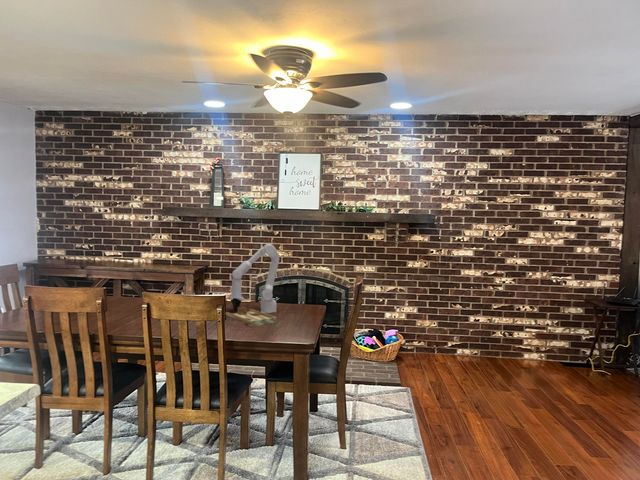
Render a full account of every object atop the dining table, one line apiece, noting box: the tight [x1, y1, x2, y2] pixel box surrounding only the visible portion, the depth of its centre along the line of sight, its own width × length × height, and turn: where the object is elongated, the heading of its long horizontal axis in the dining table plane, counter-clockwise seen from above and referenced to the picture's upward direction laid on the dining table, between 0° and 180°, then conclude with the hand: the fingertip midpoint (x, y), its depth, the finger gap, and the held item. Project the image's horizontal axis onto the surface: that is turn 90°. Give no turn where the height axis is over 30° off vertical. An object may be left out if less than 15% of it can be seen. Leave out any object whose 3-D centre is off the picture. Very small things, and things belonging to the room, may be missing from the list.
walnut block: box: [237, 306, 248, 315], centre depth 268 cm, size 4×4×4 cm
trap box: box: [225, 308, 278, 328], centre depth 261 cm, size 18×27×3 cm, turn 42°
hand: (236, 310), depth 273 cm, fingers closed
